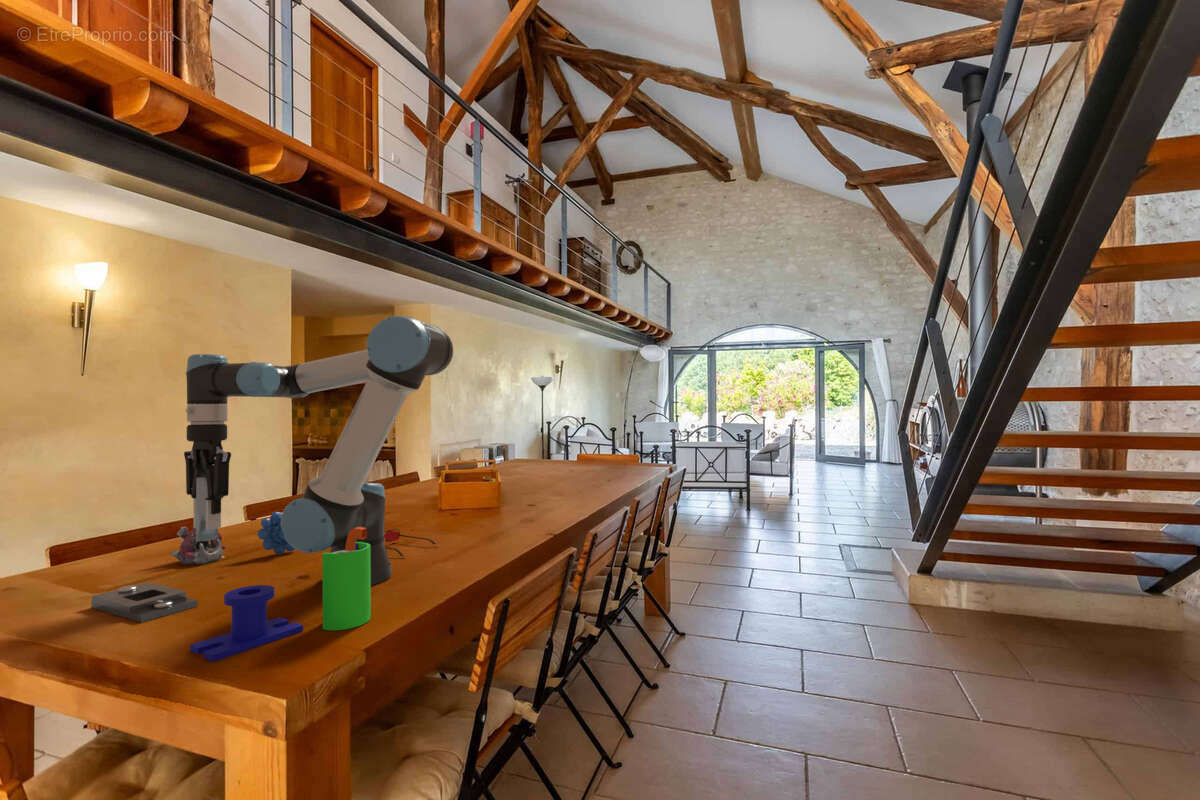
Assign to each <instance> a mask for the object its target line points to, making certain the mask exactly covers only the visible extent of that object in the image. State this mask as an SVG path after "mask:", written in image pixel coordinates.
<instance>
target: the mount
mask: <svg viewBox="0 0 1200 800" xmlns="http://www.w3.org/2000/svg"><path fill="white" fill-rule="evenodd" d="M223 596H224V598H223V603H224V605H225V606H229V607H231V628H230V629H231V630H230V631H231V632H228V633H224V634H221V635H218V636H215V637H211V638H209V639H208V638H207V639H205V640H201V641H198V642H195V643H191V644H189V645H190V648H189V649H190V650H189V651H190V652H191V651H192V653H193V652H194V654H195V653H196V655H197V654H200V655H201V653H203V659H205V660H206V659H207V661H209V662H211V663H213V662H216V661H219V660H222V659H225V658H229V657H231V656H234V655H237V654H241V653H242V652H247V651H248V650H251V649H254V648H257V647H260V646H263V645H266V644H271V643H272V642H276V641H278V640H281V639H284V638H287V637H289V636H292V635H296V634H299V633H301V632H303V631H304V625H303V624H300V623H298V622H291V623H290V622H289V621H290V620H289V619H287V618H284V617H283V616H282V617H281V616H278V617H277V618H274V619H270V620H268V618H267V616H268V613H267V612H268V601H270V600H272V599H273V598H274V597H275V587H274V586H271V585H266V584H265V585H264V584H259V585H257V584H256V585H249V586H243V587H237V588H234V589H232V590H229V591H227V592H226V593H225V594H224V595H223Z"/></svg>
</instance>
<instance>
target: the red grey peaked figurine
mask: <svg viewBox="0 0 1200 800" xmlns="http://www.w3.org/2000/svg"><path fill="white" fill-rule="evenodd" d="M188 530H189V528H188V527H186V526H181V527H180V529H179V530H178V531H177V533H176V535H177V536H178V537H179V538H182V540H181V542H180V545H179V549H180V550H173V551H170V554H171V555H172V556H173V557H174V558H175V559H177V560H178V561H179V562H180V563H181V564H182V565H197V564H201V565H207V564H209V563H212V562H217V560H218V561H220V559H224V558H225V556H224V555H223V554H224V553H223V551H224V550H225V549H227V547H226V545H222V539H223V536H222V534H221V533H220V532H219V531H218V539H215V540H210V541H196V528H193V527H192V529H191V530H190V531H188ZM206 563H207V564H206Z"/></svg>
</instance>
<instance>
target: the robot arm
mask: <svg viewBox="0 0 1200 800" xmlns="http://www.w3.org/2000/svg"><path fill="white" fill-rule="evenodd" d="M453 357H454V345H453V341H452V339H451V337H450V336H449V335H448V333H447V332H446V331H445V330H443V329H442V328H441V327H439V326H437V325H434V324H430V323H427V322H425V321H422V320H419V319H418V318H417V319H416V318H414V317H412V316H402V315H392V316H388V317H386V318H383V319H382V320H380V321H379V322H377V323H376V324H375V325H374V326H373V328H372V329H371V330H370V332H369V334H368V337H367V340H366V349H364V350H359V351H355V352H348V353H344V354H340V355H334V356H331V357H325V358H321V359H316V360H311V361H307V362H301V363H297V364H292V365H286V366H281V365H272V364H271V363H268V362H260V361H259V362H258V361H251V362H239V363H238V362H237V363H229V362H228V358H227V356H225V355H221V354H209V353H207V354H205V353H203V354H202V353H201V354H200V353H196V354H191V355H189V356H188V358H187V363H186V371H185V375H186V409H185V413H186V422H187V423H190V424H188V425H187V426H186V440H187V441H188V442H192V446H191V450H190V451H184V452H183V457H184V460H185V478H186V479H185V480H186V482H185V484H186V485H185V486H186V487H185V489H186V491H185V492H186V495H187V496H188V495H189V496H191V498H192V499H193V503H192V504H193V509H192V510H193V526H192V529H193V528H196V477H202V476H206V478H207V487H208V495H209V497H208V498H205V499H206V530H210V529H215V528H218V529H219V528H221V527H222V526H221V525H222V518H221V517H222V499H223V498H224V497H228V496H229V492H230V491H229V489H230V487H229V485H230V483H229V481H230V479H229V478H230V460H231V458H232V453H231V452H230V451H225V450H224V449H223V448H224V447H223V445H222V442H223V441H226V440H227V439H228V425H227V423H225V422H228V398H229V397H240V398H241V397H248V398H249V397H251V398H252V397H253V398H288V399H299V398H305V397H307V396H308V395H309V394H311V393H317V392H322V391H327V390H332V389H339V388H342V387H347V386H352V385H358V384H363V383H365V385H364V387H363V389H362V391H361V393H360V394H359V397H358V399H357V400H356V402H355V405H354V407H353V409H352V411H351V413H350V415H349V418H348V419H347V421H346V423H345V426H344V427H343V430H342V431H341V434H340V435H339V437H338V439H337V441H336V443H335V446H334V448H333V450H332V451H331V454H330V456H329V458H328V460H327V462H326V464H325V467H324V469H323V471H322V472H321V474H320V475H318V476H316V477H313V478H311V479H309V482H308V484H307V486H306V487H305V490H304V492H303V494H302V496H301V497H298V498H296V499H294V500H292V501H291V502H289V503H288V504H287V505H286V506H285V507H284V509H283V510H282V512H281V514H282V516H281V529H282V531H283V532H284V537H285V539H286V540H287V542H288V543H289V544H290V545H291V546H292V547H293V548H295V550H297V551H299V552H301V553H304V554H305V553H306V554H313V553H318V552H322V551H326V550H328V549H330V548H331V549H330V552H329V553H333V552H337V551H343V550H345V548H346V541H347V537H348V534H349V532H350V530H351V529H354V528H356V527H364V528H366V538H364V539H356V542H364V543H368V544H370V567H371V586H372V585H376V584H379V583H382V582H385V581H387V580H388V579H390V578H391V577H392V563H391V562H390V560H389V559H390V558H389V555H388V552H387V549H386V548H385V547H386V546H385V538H384V535H385V532H384V531H385V522H386V520H385V517H386V514H385V513H386V511H385V510H386V506H385V505H386V504H385V503H386V494H385V492H386V491H385V486H384V485H383V484H382V483H380V482H379V483H378V482H366V480H367V477H368V476H369V473H370V472H371V469H372V468H373V466H374V464H375V461H376V459H377V457H378V455H379V454H380V452H381V449H382V447H383V446H384V443H385V442H386V439H387V437H388V435H389V433H390V432H391V429H392V427H393V426H394V423H395V421H396V419H397V417H398V415H399V413H400V411H401V409H402V407H403V405H404V403H405V401H406V399H407V397H408V395H409V394H411V393H414V392H416V391H418V390H419V389H420V387H421V385H422V383H423V381H424V379H425V377H426V376H434V375H438V374H441V372H443V371H444V370H445V369H447V367H448V366H449V365H450V363H451V362H452V359H453ZM390 576H391V577H390Z"/></svg>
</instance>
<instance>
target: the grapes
mask: <svg viewBox="0 0 1200 800" xmlns="http://www.w3.org/2000/svg"><path fill="white" fill-rule="evenodd" d="M281 516H282V512H279V511H274V512H272V513H271V514H270V517H264V518H262V519H261V521H260V526H261V527H262V528H260V529H259V530H258V531H257V535H256V536H258V538H259V540H263V541H262V544H261V545H262V547H263V549H265V550H266V551H270V550H273V552H274V553H275V554H276V555H282V554H284V553H285V552H286V551H287V552H293V551H295V550H296V549H295V548H293V547H292V546H291V545H290V544H289V543H288V542H287V540H286V539H285V537H284V532H283V531H282V529H281Z"/></svg>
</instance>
